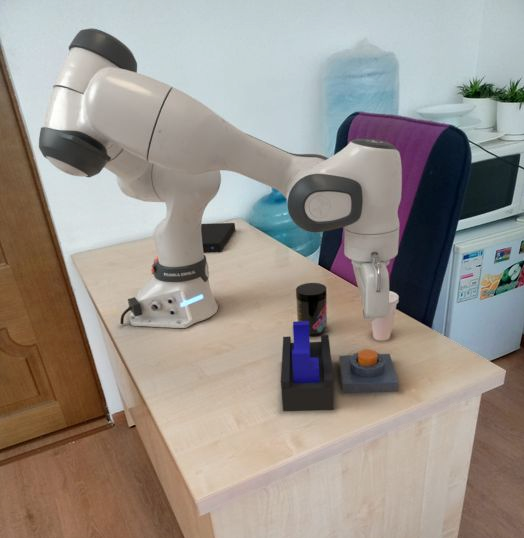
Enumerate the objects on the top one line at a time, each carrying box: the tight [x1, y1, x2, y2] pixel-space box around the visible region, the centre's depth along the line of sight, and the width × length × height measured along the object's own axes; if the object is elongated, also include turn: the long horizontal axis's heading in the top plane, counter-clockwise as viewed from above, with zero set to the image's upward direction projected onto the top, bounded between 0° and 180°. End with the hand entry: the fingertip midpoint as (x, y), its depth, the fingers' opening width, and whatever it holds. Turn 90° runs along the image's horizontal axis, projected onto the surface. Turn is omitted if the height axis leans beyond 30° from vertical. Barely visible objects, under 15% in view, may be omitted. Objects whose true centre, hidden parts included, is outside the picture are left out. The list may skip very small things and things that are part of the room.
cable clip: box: [292, 320, 319, 383], centre depth 91 cm, size 12×4×6 cm, turn 176°
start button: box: [357, 348, 378, 366], centre depth 94 cm, size 4×4×2 cm
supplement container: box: [295, 282, 328, 338], centre depth 112 cm, size 7×7×10 cm
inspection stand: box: [280, 334, 335, 412], centre depth 94 cm, size 9×16×6 cm, turn 177°
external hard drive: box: [201, 222, 236, 253], centre depth 177 cm, size 14×23×3 cm, turn 171°
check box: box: [338, 352, 399, 394], centre depth 96 cm, size 10×10×4 cm
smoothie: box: [370, 290, 400, 341], centre depth 106 cm, size 6×6×14 cm
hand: (368, 317), depth 90 cm, fingers closed
